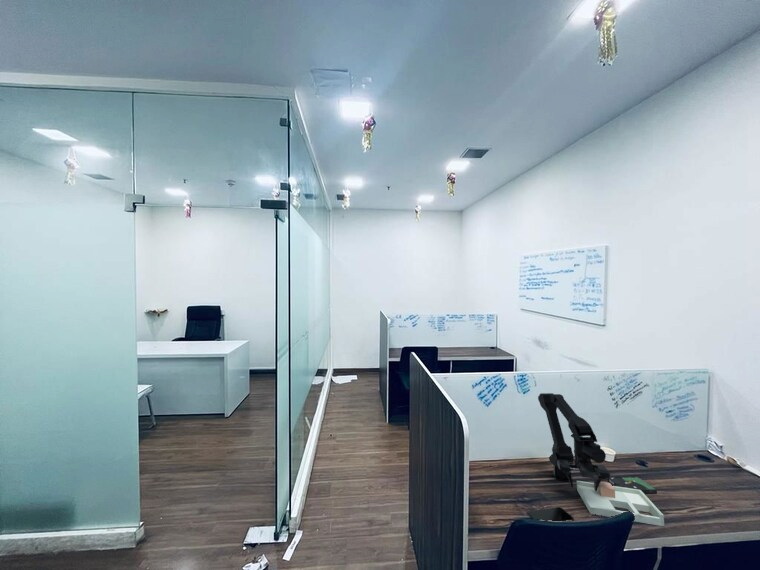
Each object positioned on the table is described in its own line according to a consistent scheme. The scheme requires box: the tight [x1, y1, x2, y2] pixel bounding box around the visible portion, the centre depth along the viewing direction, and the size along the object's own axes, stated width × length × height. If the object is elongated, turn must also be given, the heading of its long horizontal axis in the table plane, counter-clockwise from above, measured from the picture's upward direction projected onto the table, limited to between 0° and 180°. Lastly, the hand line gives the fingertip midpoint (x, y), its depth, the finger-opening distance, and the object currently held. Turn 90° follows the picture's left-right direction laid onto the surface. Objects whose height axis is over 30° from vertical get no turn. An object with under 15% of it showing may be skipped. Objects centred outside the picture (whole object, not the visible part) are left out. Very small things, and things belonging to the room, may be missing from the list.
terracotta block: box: [597, 481, 615, 498], centre depth 132 cm, size 5×5×4 cm
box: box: [576, 480, 665, 527], centre depth 127 cm, size 24×17×4 cm
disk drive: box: [606, 476, 658, 495], centre depth 140 cm, size 10×3×15 cm
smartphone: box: [526, 506, 575, 522], centre depth 121 cm, size 8×1×16 cm
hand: (583, 488), depth 134 cm, fingers open, 8 cm apart
